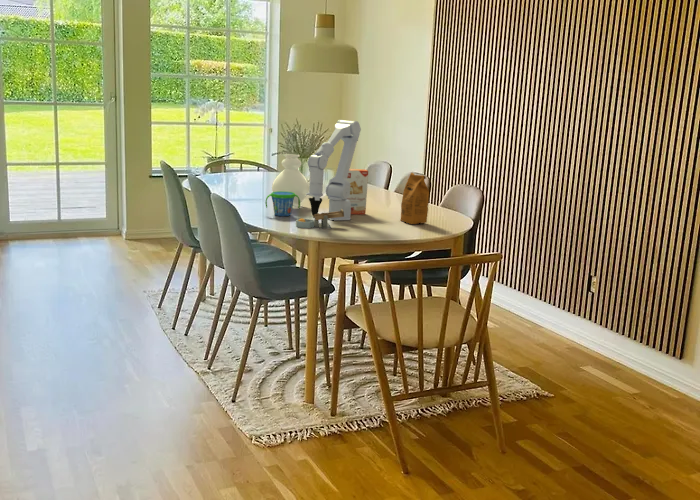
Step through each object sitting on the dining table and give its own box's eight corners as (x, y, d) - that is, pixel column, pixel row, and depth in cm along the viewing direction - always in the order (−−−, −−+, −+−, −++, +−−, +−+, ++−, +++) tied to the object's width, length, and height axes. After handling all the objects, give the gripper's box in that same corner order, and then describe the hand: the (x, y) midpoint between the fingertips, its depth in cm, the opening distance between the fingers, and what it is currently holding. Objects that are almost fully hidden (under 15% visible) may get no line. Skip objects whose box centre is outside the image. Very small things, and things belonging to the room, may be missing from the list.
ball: (298, 223, 317) (305, 223, 317) (298, 226, 314) (305, 226, 315) (297, 217, 316) (304, 216, 316) (298, 220, 313) (305, 219, 313)
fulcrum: (328, 224, 322) (329, 212, 321) (331, 228, 313) (331, 216, 312) (313, 224, 321) (313, 212, 320) (315, 228, 312) (316, 216, 311)
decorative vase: (303, 211, 351) (304, 157, 346) (266, 208, 355) (268, 155, 349) (312, 205, 368) (314, 154, 363) (277, 202, 372) (279, 152, 366)
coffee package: (416, 219, 344) (419, 171, 340) (429, 224, 333) (433, 175, 328) (397, 220, 340) (400, 172, 336) (409, 225, 329) (413, 175, 324)
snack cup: (265, 216, 332) (265, 194, 330) (265, 212, 343) (265, 190, 340) (300, 217, 334) (300, 195, 332) (299, 213, 344) (300, 191, 342)
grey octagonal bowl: (312, 224, 320) (312, 219, 320) (314, 228, 313) (314, 222, 312) (295, 224, 319) (295, 218, 318) (296, 227, 312) (297, 222, 311)
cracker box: (337, 214, 346) (339, 169, 342) (334, 212, 352) (336, 168, 347) (366, 214, 350) (368, 170, 345) (362, 212, 356) (364, 168, 351)
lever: (340, 212, 326) (339, 206, 326) (344, 217, 315) (343, 211, 314) (311, 215, 325) (311, 209, 324) (314, 221, 313) (314, 214, 312)
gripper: (305, 180, 325) (303, 211, 328) (308, 185, 311) (307, 217, 314) (321, 181, 326) (319, 212, 329) (325, 185, 312) (323, 217, 315)
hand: (314, 214), depth 322 cm, fingers closed, pressing on lever
